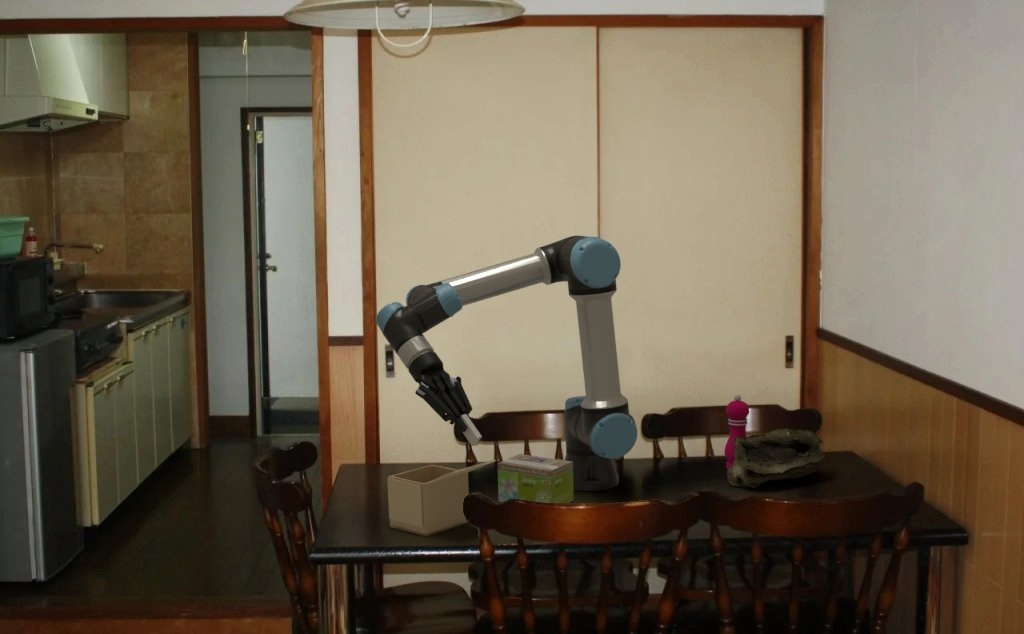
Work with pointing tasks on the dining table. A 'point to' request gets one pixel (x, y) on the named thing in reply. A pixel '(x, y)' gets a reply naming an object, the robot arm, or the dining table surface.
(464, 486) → the carton
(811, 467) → the hollow geode rock
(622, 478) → the dining table surface
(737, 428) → the pepper mill
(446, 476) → the flap
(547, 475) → the tea box
